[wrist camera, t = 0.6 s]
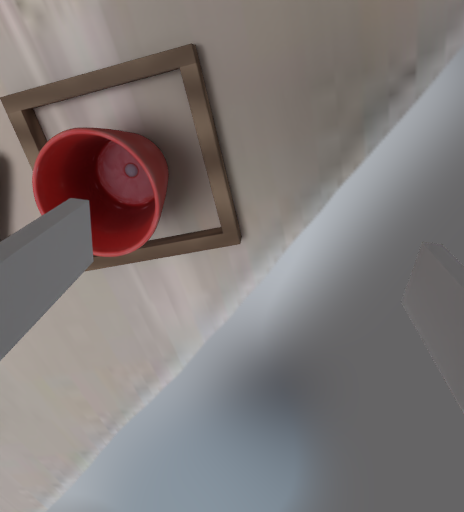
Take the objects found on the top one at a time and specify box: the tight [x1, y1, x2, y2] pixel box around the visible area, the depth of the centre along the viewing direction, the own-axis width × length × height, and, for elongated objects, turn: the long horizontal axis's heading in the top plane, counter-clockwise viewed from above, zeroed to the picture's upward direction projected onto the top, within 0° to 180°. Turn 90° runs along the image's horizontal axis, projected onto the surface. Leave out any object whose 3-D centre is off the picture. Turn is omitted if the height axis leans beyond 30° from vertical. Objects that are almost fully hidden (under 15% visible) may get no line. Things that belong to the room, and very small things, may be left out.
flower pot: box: [32, 128, 169, 257], centre depth 36 cm, size 11×11×10 cm
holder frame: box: [0, 44, 242, 271], centre depth 39 cm, size 19×19×2 cm
